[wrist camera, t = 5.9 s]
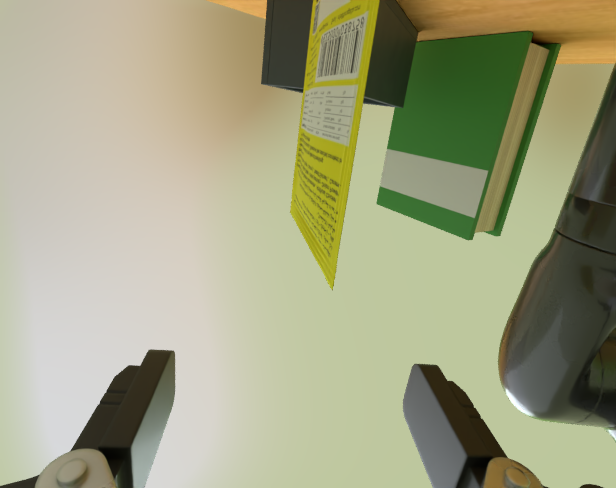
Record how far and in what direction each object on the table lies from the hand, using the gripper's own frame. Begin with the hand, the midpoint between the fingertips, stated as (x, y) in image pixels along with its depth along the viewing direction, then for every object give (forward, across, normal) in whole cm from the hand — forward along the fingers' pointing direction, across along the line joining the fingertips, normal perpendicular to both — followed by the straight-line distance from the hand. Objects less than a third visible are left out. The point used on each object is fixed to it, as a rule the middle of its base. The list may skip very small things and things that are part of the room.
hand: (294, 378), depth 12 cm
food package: (+16, -2, -19) cm, 25 cm away
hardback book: (+43, -24, -19) cm, 52 cm away
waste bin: (+35, -6, -19) cm, 41 cm away
